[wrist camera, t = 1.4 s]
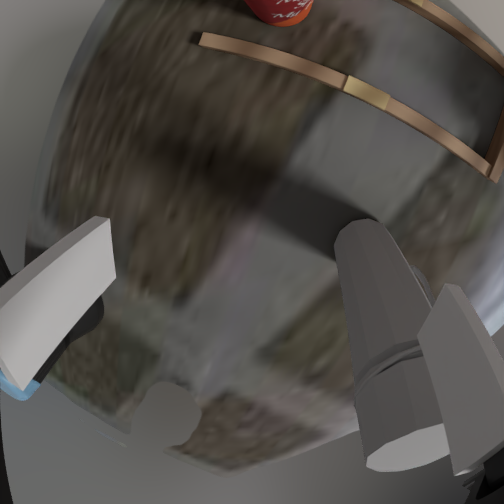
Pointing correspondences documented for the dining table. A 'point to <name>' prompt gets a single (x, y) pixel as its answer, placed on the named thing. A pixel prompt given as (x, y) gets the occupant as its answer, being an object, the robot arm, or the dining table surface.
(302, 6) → the coffee cup
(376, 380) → the water bottle
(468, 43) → the brown piece
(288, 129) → the dining table surface
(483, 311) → the dining table surface
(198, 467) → the dining table surface
